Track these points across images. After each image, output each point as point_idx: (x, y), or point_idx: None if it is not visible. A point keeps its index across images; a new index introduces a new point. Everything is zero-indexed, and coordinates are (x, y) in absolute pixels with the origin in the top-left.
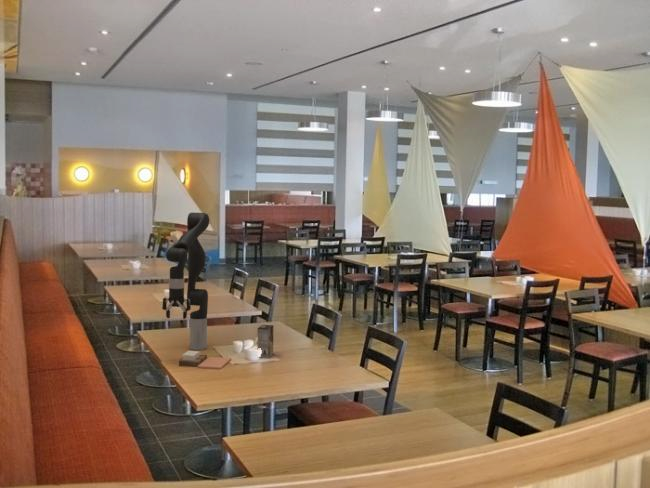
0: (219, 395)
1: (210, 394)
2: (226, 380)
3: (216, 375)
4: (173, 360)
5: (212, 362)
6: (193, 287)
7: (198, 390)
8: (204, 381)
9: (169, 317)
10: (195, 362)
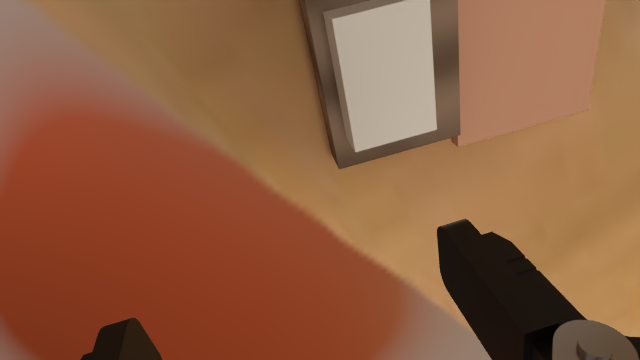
0: None
1: None
2: (625, 228)
3: (575, 195)
4: (222, 66)
5: (519, 36)
6: None
7: None
8: None
9: (140, 332)
10: (443, 137)
